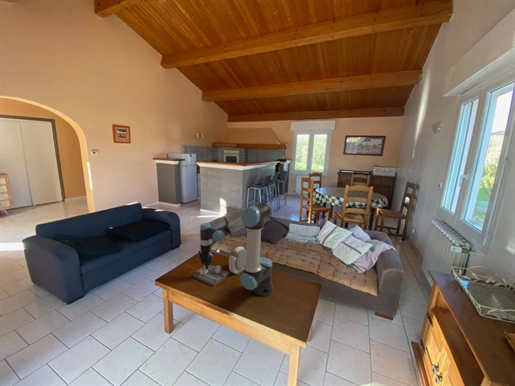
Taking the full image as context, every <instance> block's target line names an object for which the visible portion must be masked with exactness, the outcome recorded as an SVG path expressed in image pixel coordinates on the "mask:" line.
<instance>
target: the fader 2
mask: <svg viewBox="0 0 515 386" xmlns="http://www.w3.org/2000/svg"><path fill="white" fill-rule="evenodd" d="M221 269H222V265H220V264H218V265H216V266H215V273H219V272H221Z"/></svg>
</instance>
